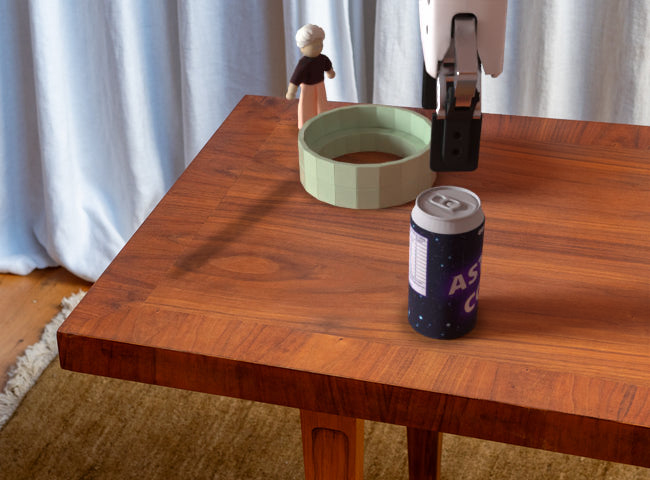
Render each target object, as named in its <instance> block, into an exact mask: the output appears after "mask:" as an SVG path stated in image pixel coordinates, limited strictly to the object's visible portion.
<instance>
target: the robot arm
mask: <svg viewBox="0 0 650 480" xmlns="http://www.w3.org/2000/svg"><path fill="white" fill-rule="evenodd" d="M508 3H509V0H418V17H419V30H420V39H421V45H422V53H423V60H422V77H421V78H422V81H421V98H420V99H421V107H422V109H423V110H426V111H436V112H431V140H430V157H429V165H430V169H431V170H432V171H433V172H436V173H458V172H459V173H460V172H461V173H463V172H465V173H467V172H469V173H470V172H471V173H472V172H475V171H477V169H478V168H479V159H480V147H481V135H482V126H483V118H484V117H483V116H484V115H483V112H482V73H484V75H485V76H490V77H491V78H492V79H496V78H499V76H500V75H501V74H502V73H503V71H504V60H505V49H506V48H505V46H506V31H507V30H506V28H507V19H508V17H507V16H508ZM482 70H483V71H482Z"/></svg>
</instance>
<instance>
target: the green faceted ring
mask: <svg viewBox="0 0 650 480" xmlns="http://www.w3.org/2000/svg"><path fill="white" fill-rule="evenodd" d="M431 122H432V120H430V119H429V117H427V116H424V115H422V114H421V113H419V112H417V111H415V110H412V109H408V108H404V107H401V106H397V105H387V104H378V103H368V104H366V103H365V104H364V103H363V104H351V105H346V106H341V107H339V106H338V107H336V108H332V109H329V111H326V112H323V113H320V114H318V115H316V116H315V117H313V118H311V119H310V120H308V121H306V123H305V124H304V125H303V126H302V127H301V129H299V130H298V136H297V148H298V163H299V178H300V179H299V181H300V183H301V184H302V186H303V188H304V189H305V191H306V192H307V193H308V194H310V195H311V196H313V198H315V199H316V200H318V201H321V202H324V203H327V204H330V205H332V206H335V207H341V208H347V209H354V210H380V209H387V208H391V207H397V206H401V205H405V204H407V203H410V202H412V201H414V200H416V199H417V197H418V196H419V195H420V194H421V193H422V192H424V191H425V190H427V189H430V188H433V186H434V183H435V181H436V179H437V172H433V171H432V170H431V169H430V165H429V157H430V140H431ZM359 152H377V153H378V152H379V153H384V154H391V155H394V156H398V157H401V158H402V159H398V160H392V161H386V162H381V163H351V162H345V161H337V160H334V159H336V158H339V157H341V156H345V155H349V154H355V153H359Z"/></svg>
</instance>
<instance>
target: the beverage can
mask: <svg viewBox="0 0 650 480" xmlns="http://www.w3.org/2000/svg"><path fill="white" fill-rule="evenodd" d="M485 225H486V214H485V212H484V210H483V208H482V201H481V198H480V197H479V195H478V194H476V193H475V192H473V191H472V190H470V189H468V188H464V187H461V186H455V185H439V186H435V187H431V188H430V189H427V190H425V191H424V192H422V193H421V194H420V195H419V196H418V197H417V199H415V205H414V207H413V208H412V210H411V212H410V214H409V248H408V249H409V252H408V253H409V255H408V293H407V294H408V295H407V297H408V298H407V321H408V325H410V327H411V328H412V329H413V330H414V331H415V332H416V333H418V334H420V335H421V336H424V337H426V338H429V339H433V340H444V341H445V340H453V339H457V338H461V337H463V336H465V335H467V334H470V332H472V331H473V329H474V328H475V327H476V324H477V320H478V308H479V297H480V285H481V274H482V262H483V251H484V238H485V228H486V226H485Z"/></svg>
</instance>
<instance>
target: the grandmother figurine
mask: <svg viewBox="0 0 650 480" xmlns="http://www.w3.org/2000/svg"><path fill="white" fill-rule="evenodd" d="M294 37H295V42H296V46H297V47H298V48H299V49H300V51H301V53H302V54H303V56H302V57H301V58H299V60H298V62H297V64H296V66H295V68H294V70H293V73H292V75H291V77H290V80H289V84H288V89H287V90H288V91H287V92H286V95H285V97H286V99H287V100H288V101H294V100H295V99H296V93H297V92H298V91H299V87H300V89H301V90H300V95H299V101H298V107H297V116H298V117H297V121H298V122H297V123H298V124H297V127H298V129H299V130H300V129H301V127H302V126H303V125H304V124H305V123H306V121H308V120H310V119H311V118H313V117H315V116H316V115H318V114H320V113H323V112H326V111H329V110H330V108H329V102H328V96H327V90H326V84H325V74H326V78H328V79H329V80H332V79H335V77H336V75H337V74H336V71H335V70H334V66H333V62H332V61H331V59H330V58H329V56H327V55H326V54H324V53H322V52H323V50H324V40H325V39H326V32H325V30H324V29H323V28H322V27H320V26H319V25H317V24H312V23H307V24H305V25H304V26H302V27H301V28H299V29H298V30H297V31H296V34H295V36H294Z"/></svg>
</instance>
